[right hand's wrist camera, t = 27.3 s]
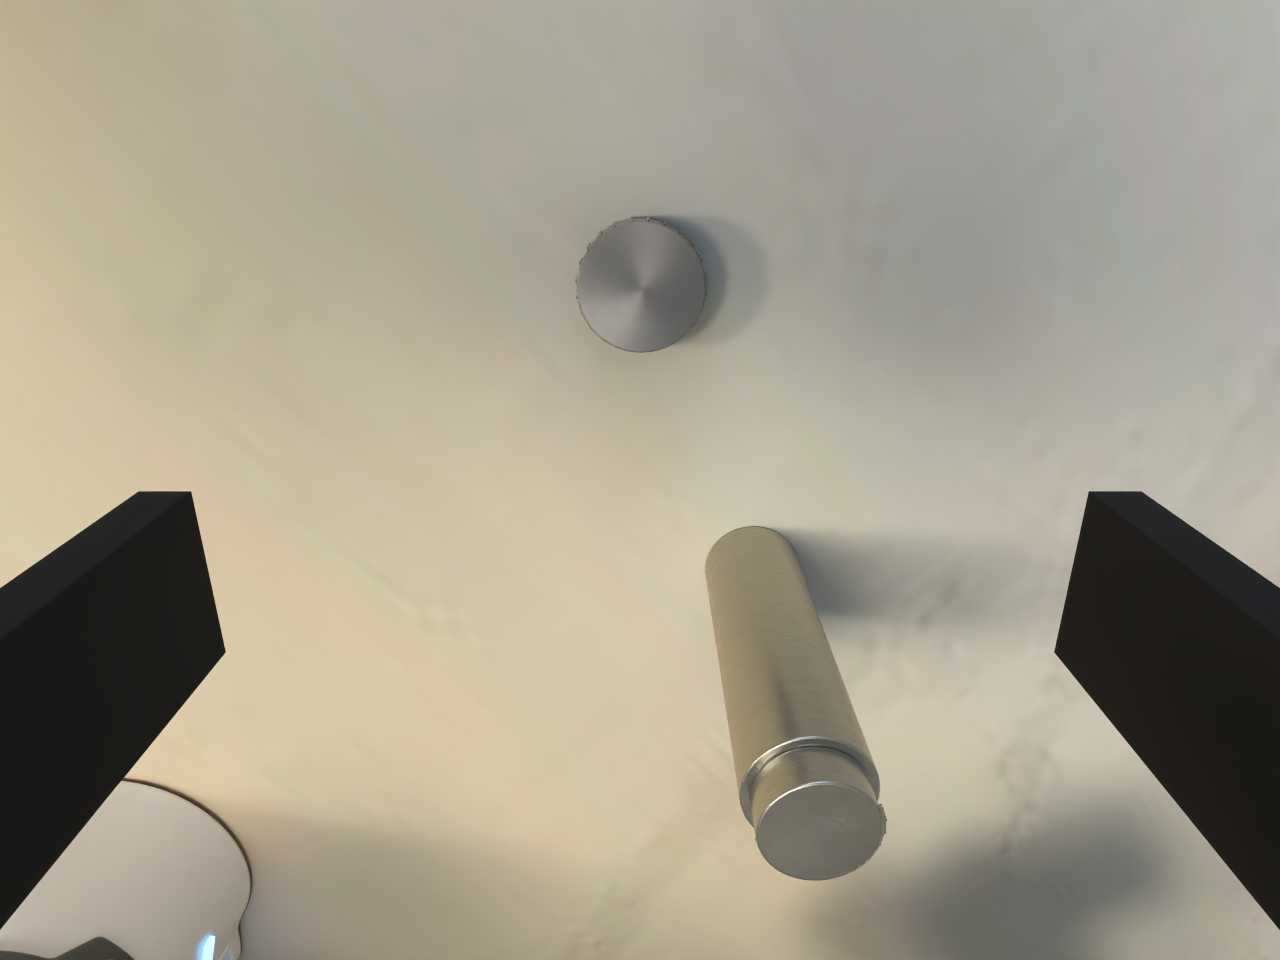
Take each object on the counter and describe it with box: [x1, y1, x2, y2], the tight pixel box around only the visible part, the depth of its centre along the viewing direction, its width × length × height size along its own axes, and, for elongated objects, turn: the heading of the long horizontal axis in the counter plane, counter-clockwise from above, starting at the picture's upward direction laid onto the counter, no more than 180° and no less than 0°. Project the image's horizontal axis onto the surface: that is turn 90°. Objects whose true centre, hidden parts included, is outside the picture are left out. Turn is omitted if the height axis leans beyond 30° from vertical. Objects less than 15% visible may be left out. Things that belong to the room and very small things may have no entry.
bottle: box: [705, 527, 887, 880], centre depth 37 cm, size 5×5×19 cm
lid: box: [576, 217, 706, 352], centre depth 39 cm, size 6×6×2 cm
